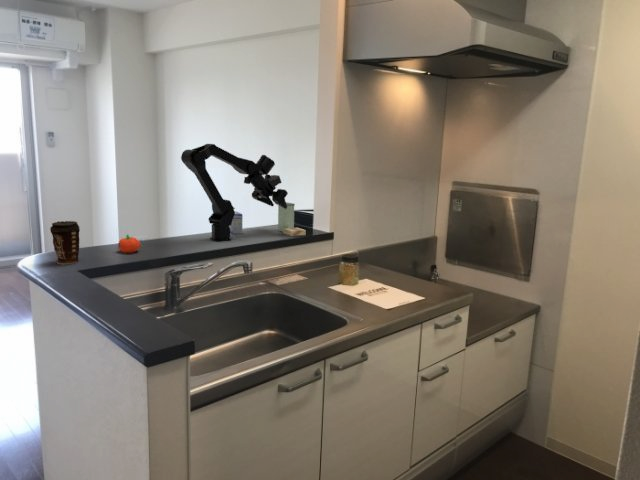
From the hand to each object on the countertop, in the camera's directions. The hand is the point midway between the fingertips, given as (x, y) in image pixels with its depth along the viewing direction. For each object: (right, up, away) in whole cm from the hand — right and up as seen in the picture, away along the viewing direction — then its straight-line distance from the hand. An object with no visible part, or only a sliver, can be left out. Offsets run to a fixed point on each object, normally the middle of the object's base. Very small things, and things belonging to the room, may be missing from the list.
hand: (279, 206), depth 230 cm
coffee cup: (-64, -22, -60) cm, 91 cm away
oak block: (+7, -12, -3) cm, 14 cm away
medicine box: (-19, -11, -2) cm, 22 cm away
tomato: (-50, -19, -44) cm, 69 cm away
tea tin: (+2, -10, +5) cm, 12 cm away
